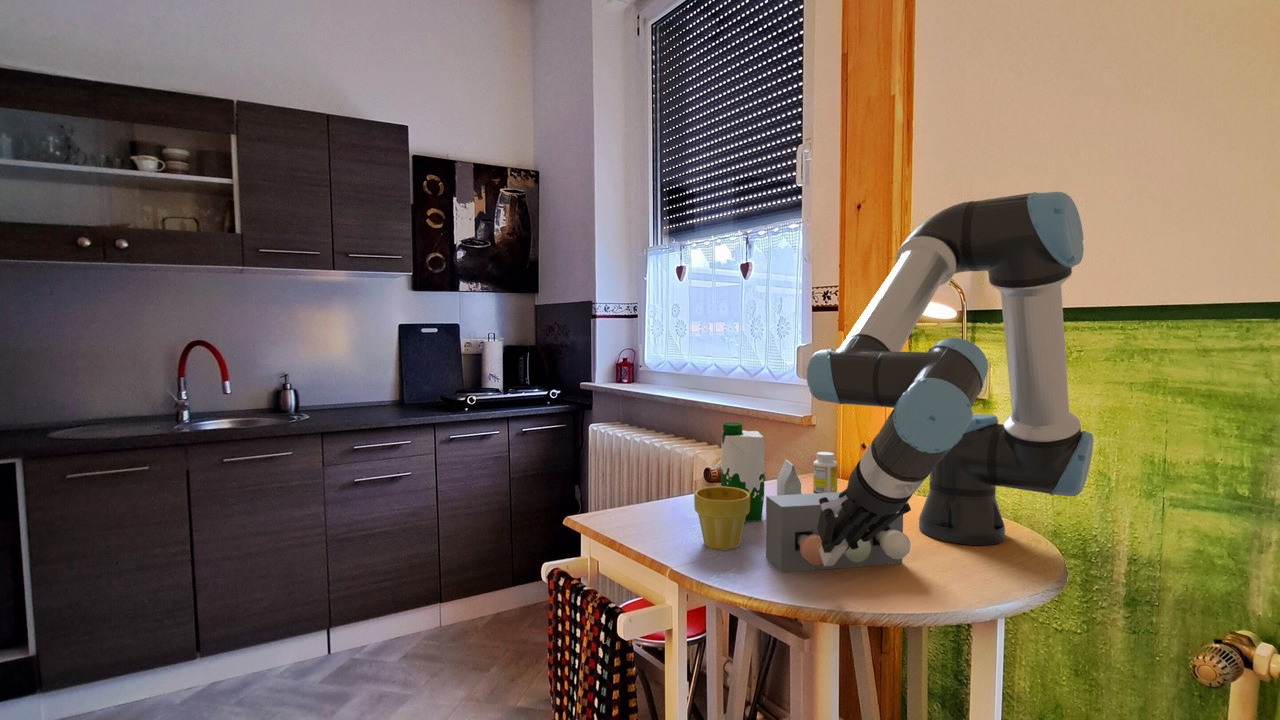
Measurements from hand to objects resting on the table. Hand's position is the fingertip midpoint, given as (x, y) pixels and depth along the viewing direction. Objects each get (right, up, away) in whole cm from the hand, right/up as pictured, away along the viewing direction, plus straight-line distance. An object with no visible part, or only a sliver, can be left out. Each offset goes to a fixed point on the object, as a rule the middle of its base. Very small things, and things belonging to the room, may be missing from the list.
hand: (826, 557), depth 100 cm
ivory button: (+13, -2, +8) cm, 15 cm away
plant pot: (-13, -4, +22) cm, 26 cm away
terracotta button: (-1, -2, +6) cm, 7 cm away
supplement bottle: (+16, -2, +56) cm, 58 cm away
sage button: (+6, -2, +7) cm, 10 cm away
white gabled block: (+5, -3, +47) cm, 48 cm away
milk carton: (-7, -3, +39) cm, 40 cm away
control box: (+5, -4, +13) cm, 15 cm away
